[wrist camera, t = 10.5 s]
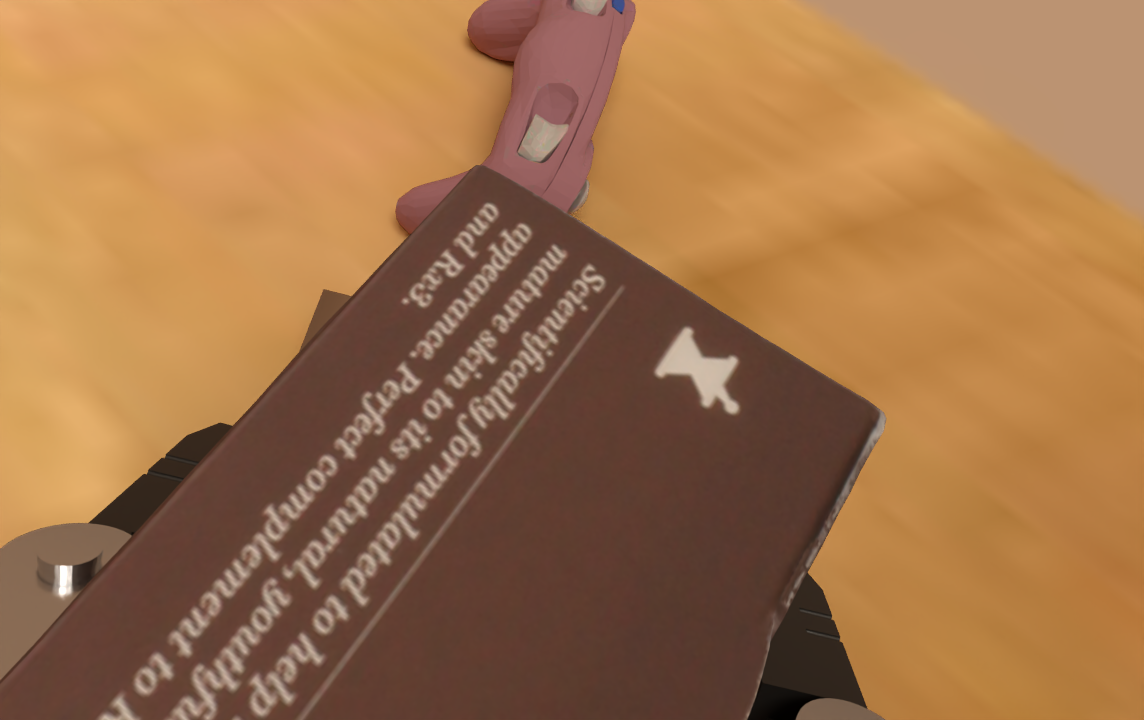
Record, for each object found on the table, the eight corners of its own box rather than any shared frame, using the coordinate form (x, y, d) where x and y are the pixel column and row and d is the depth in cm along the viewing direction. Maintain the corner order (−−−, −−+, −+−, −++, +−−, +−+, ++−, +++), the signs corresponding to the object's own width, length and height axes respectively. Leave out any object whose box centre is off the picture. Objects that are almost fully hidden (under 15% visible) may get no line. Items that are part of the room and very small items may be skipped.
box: (461, 488, 18) (483, 126, 7) (635, 611, 17) (950, 429, 7) (267, 744, 16) (-159, 799, 5) (461, 896, 15) (501, 1363, 4)
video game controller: (496, 295, 29) (615, 222, 23) (377, 233, 27) (475, 136, 21) (562, 84, 33) (677, -22, 27) (463, 16, 31) (565, -113, 25)
